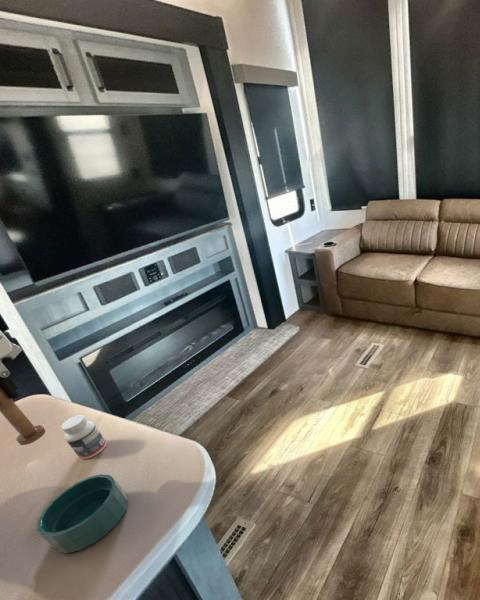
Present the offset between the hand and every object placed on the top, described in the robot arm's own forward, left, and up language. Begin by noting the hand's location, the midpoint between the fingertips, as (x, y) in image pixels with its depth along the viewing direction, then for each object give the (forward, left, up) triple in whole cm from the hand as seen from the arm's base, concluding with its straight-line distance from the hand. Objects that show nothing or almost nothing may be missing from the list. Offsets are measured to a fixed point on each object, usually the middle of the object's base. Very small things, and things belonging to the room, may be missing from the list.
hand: (2, 401), depth 61 cm
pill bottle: (-9, +9, -25) cm, 27 cm away
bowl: (+9, -3, -24) cm, 26 cm away
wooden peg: (0, 0, -9) cm, 9 cm away
